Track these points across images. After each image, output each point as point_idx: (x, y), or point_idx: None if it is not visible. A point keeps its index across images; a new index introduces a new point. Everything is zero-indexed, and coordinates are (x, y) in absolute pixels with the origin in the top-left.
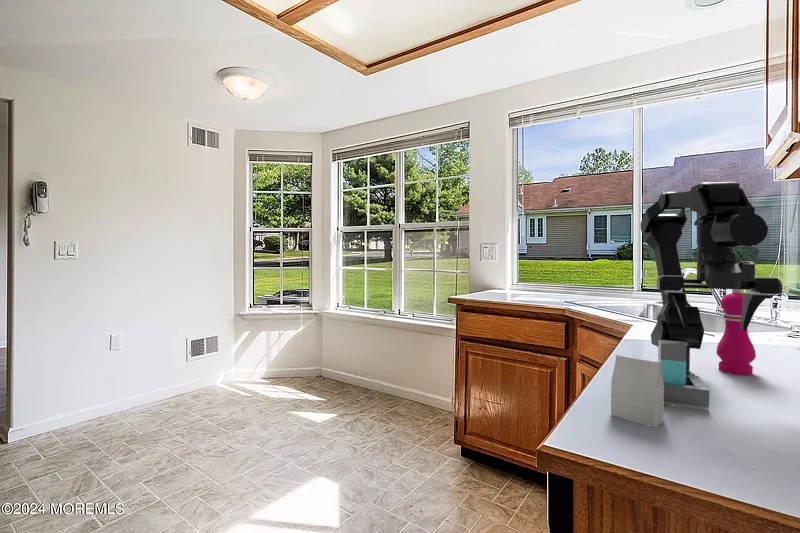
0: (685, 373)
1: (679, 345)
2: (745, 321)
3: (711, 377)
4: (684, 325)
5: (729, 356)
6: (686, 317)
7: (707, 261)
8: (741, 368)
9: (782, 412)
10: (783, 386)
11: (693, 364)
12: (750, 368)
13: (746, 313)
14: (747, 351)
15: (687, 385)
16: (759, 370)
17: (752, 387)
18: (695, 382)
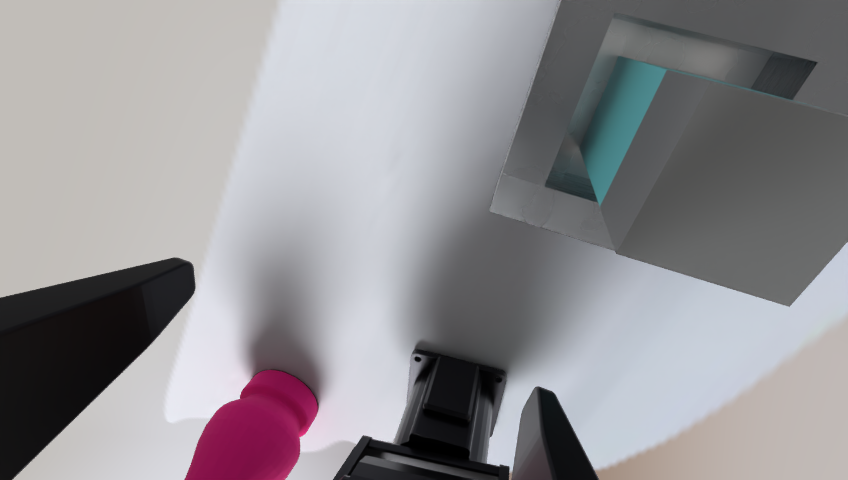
0: (648, 66)
1: (765, 99)
2: (115, 287)
3: (365, 354)
4: (557, 401)
5: (278, 422)
6: (552, 460)
7: None
8: (270, 384)
9: (304, 19)
10: (218, 286)
11: None
12: (249, 384)
13: (26, 323)
14: (224, 423)
15: (653, 14)
16: None
17: (294, 272)
18: (567, 92)
